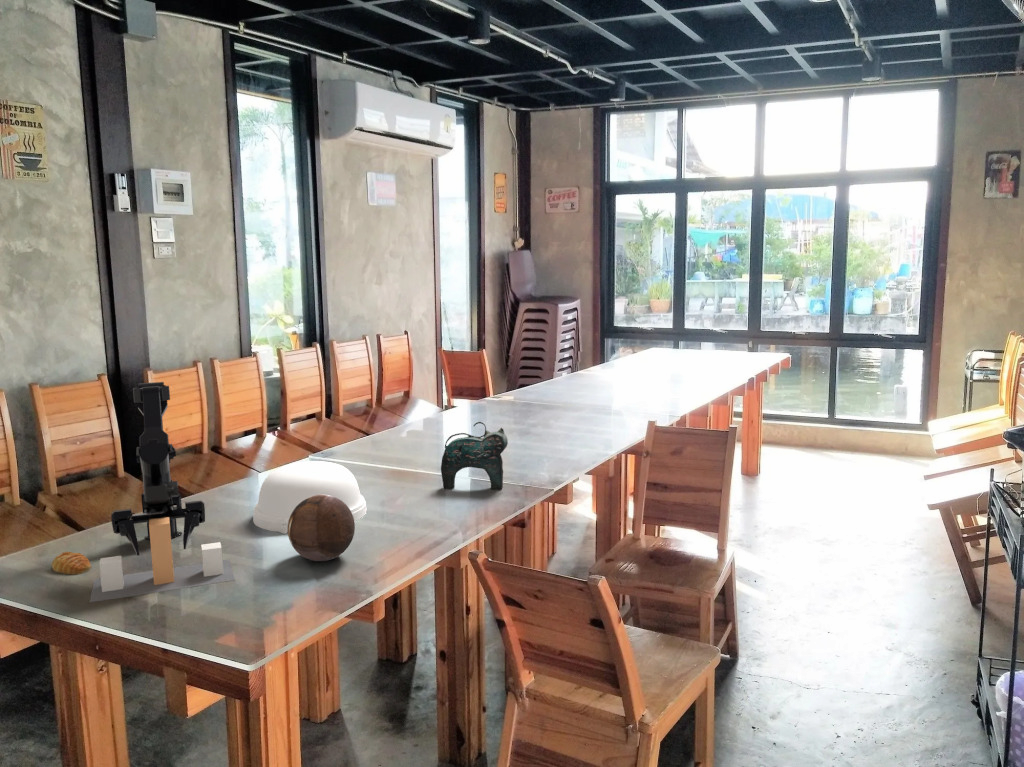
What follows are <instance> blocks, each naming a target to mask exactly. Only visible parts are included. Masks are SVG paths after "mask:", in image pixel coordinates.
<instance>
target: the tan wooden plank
mask: <svg viewBox="0 0 1024 767" xmlns="http://www.w3.org/2000/svg"><path fill="white" fill-rule="evenodd" d="M149 531H150V540H149V541H150V542H149V543H150V551H151V554H150V555H151V562H152V563H151V564H152V571H153V578H154V585H158V584H164V583H171V582H174V569H173V568H174V561H173V559H174V558H173V547H172V538H171V533H170V521H169V517H165V518H157V519H149Z"/></svg>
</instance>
